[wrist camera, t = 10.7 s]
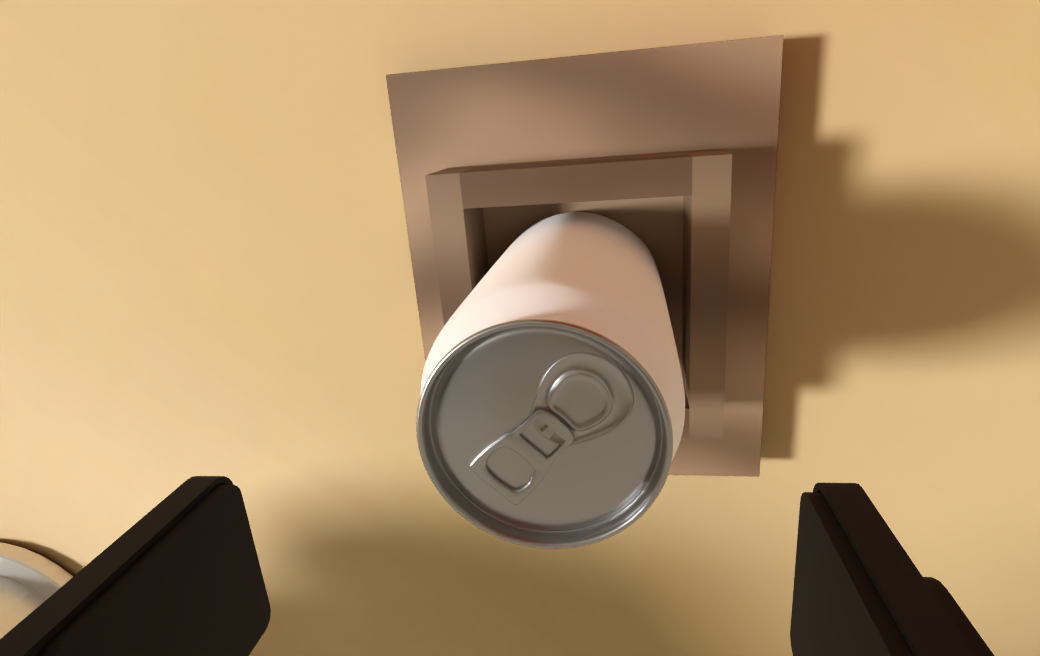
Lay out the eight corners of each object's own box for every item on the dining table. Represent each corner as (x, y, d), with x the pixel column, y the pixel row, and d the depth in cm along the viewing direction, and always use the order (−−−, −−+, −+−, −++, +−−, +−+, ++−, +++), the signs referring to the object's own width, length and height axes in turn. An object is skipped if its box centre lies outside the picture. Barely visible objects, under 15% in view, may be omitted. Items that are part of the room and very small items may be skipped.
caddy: (752, 457, 27) (775, 520, 23) (449, 453, 30) (420, 510, 25) (773, 39, 22) (808, 23, 18) (399, 77, 24) (352, 69, 20)
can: (696, 286, 24) (762, 444, 12) (583, 395, 26) (554, 611, 15) (571, 173, 23) (523, 232, 12) (466, 295, 25) (343, 442, 14)
